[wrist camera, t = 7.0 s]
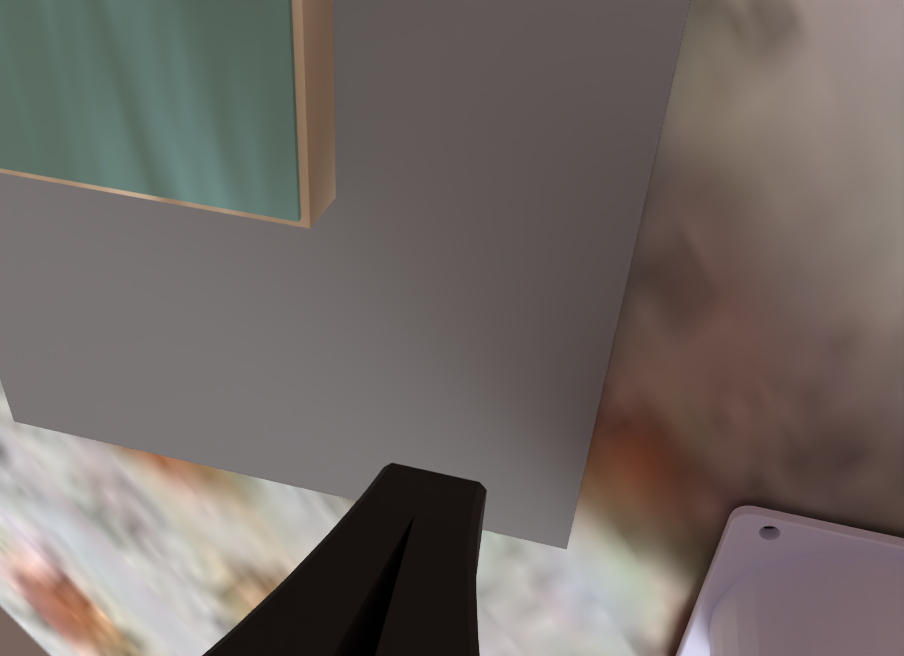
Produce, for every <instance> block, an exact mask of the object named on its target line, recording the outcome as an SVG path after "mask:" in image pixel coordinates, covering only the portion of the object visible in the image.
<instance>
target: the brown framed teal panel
mask: <svg viewBox="0 0 904 656" xmlns="http://www.w3.org/2000/svg"><path fill="white" fill-rule="evenodd" d="M0 173H5V174H10V175H16V176H21V177H27V178H33V179H38V180H44V181H49V182H55V183H60V184H66V185H71V186H77V187H82V188H88V189H93V190H99V191H105V192H110V193H116V194H121V195H127V196H132V197H138V198H143V199H149V200H154V201H160V202H166V203H171V204H177V205H182V206H188V207H193V208H199V209H204V210H210V211H215V212H221V213H226V214H232V215H238V216H243V217H249V218H254V219H260V220H265V221H271V222H276V223H282V224H287V225H293V226H299V227H304V228H311V227H312V226H313V225H314V223H315V222H316V221H317V220H318V218H319V217H320V216H321V215H322V214H323V212H324V211H325V210H326V209H327V208H328V206H329V205H330V204H331V203H332V201H333V200H334V199H335V198H336V181H335V114H334V47H333V0H0Z"/></svg>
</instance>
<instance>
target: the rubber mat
mask: <svg viewBox="0 0 904 656" xmlns="http://www.w3.org/2000/svg"><path fill="white" fill-rule="evenodd" d="M690 1H691V0H333V47H334V114H335V181H336V198H335V199H334V200H333V201H332V203H331V204H330V205H329V206H328V208H327V209H326V210H325V211H324V212H323V214H322V215H321V216H320V217H319V218H318V220H317V221H316V222H315V223H314V225H313V226H312V227H311V228H304V227H299V226H293V225H287V224H282V223H276V222H271V221H265V220H260V219H254V218H249V217H243V216H238V215H232V214H226V213H221V212H215V211H210V210H204V209H199V208H193V207H188V206H182V205H177V204H171V203H166V202H160V201H154V200H149V199H143V198H138V197H132V196H127V195H121V194H116V193H110V192H105V191H99V190H93V189H88V188H82V187H77V186H71V185H66V184H60V183H55V182H49V181H44V180H38V179H33V178H27V177H21V176H16V175H10V174H5V173H0V379H1V382H2V385H3V388H4V391H5V395H6V398H7V401H8V404H9V407H10V410H11V413H12V416H13V420H14V421H15V422H19V423H24V424H28V425H32V426H36V427H41V428H45V429H49V430H54V431H58V432H62V433H67V434H71V435H75V436H80V437H84V438H88V439H93V440H97V441H101V442H106V443H110V444H114V445H119V446H123V447H127V448H131V449H136V450H140V451H144V452H149V453H153V454H157V455H162V456H166V457H170V458H175V459H179V460H183V461H188V462H192V463H196V464H201V465H205V466H209V467H214V468H218V469H222V470H226V471H231V472H235V473H239V474H244V475H248V476H252V477H257V478H261V479H265V480H270V481H274V482H278V483H283V484H287V485H291V486H296V487H300V488H304V489H309V490H313V491H317V492H322V493H326V494H330V495H334V496H339V497H343V498H347V499H352V500H356V501H357V500H358V499H359V498H360V497H361V496H362V494H363V493H364V492H365V491H366V489H367V488H368V487H369V486H370V484H371V483H372V482H373V481H374V479H375V478H376V477H377V475H378V474H379V473H380V471H381V470H382V469H383V467H385V466H386V465H388V464H390V463H396V464H401V465H405V466H410V467H414V468H419V469H423V470H428V471H432V472H437V473H441V474H446V475H451V476H455V477H460V478H464V479H469V480H473V481H478V482H480V483H481V484H482V485H483V486H484V487H485V489H486V490H487V494H486V502H485V510H484V518H483V526H482V530H486V531H490V532H494V533H499V534H503V535H507V536H512V537H516V538H520V539H524V540H529V541H533V542H537V543H542V544H546V545H550V546H555V547H559V548H563V549H567V545H568V541H569V536H570V532H571V528H572V523H573V519H574V514H575V510H576V505H577V501H578V497H579V492H580V488H581V483H582V479H583V474H584V470H585V466H586V461H587V457H588V452H589V448H590V443H591V439H592V435H593V430H594V426H595V421H596V417H597V412H598V408H599V404H600V399H601V395H602V390H603V386H604V381H605V377H606V373H607V368H608V364H609V359H610V355H611V350H612V346H613V342H614V337H615V333H616V328H617V324H618V319H619V315H620V311H621V306H622V302H623V297H624V293H625V288H626V284H627V280H628V275H629V271H630V266H631V262H632V257H633V253H634V249H635V244H636V240H637V235H638V231H639V226H640V222H641V218H642V213H643V209H644V204H645V200H646V195H647V191H648V187H649V182H650V178H651V173H652V169H653V164H654V160H655V156H656V151H657V147H658V142H659V138H660V133H661V129H662V125H663V120H664V116H665V111H666V107H667V103H668V98H669V94H670V89H671V85H672V80H673V76H674V72H675V67H676V63H677V58H678V54H679V49H680V45H681V41H682V36H683V32H684V27H685V23H686V18H687V14H688V10H689V5H690Z"/></svg>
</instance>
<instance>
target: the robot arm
mask: <svg viewBox="0 0 904 656" xmlns="http://www.w3.org/2000/svg"><path fill="white" fill-rule="evenodd" d="M486 494H487V490H486V489H485V487H484V486H483V485H482V484H481V483H480V482H478V481H473V480H469V479H464V478H460V477H455V476H451V475H446V474H441V473H437V472H432V471H428V470H423V469H419V468H414V467H410V466H405V465H401V464H396V463H390V464H388V465H386V466H385V467H383V469H382V470H381V471H380V473H379V474H378V475H377V477H376V478H375V479H374V481H373V482H372V483H371V484H370V486H369V487H368V488H367V489H366V491H365V492H364V493H363V494H362V496H361V497H360V498H359V499H358V500H357V502H356V503H355V504H354V505H353V506H352V507H351V509H350V510H349V511H348V512H347V513H346V515H345V516H344V517H343V518H342V519H341V520H340V521H339V522H338V524H337V525H336V526H335V527H334V528H333V529H332V530H331V531H330V533H329V534H328V535H327V536H326V537H325V538H324V539H323V540H322V541H321V542H320V543H319V544H318V545H317V547H316V548H315V549H314V550H313V551H312V552H311V553H310V554H309V555H308V556H307V557H306V558H305V559H304V560H303V561H302V562H301V563H300V564H299V565H298V566H297V568H296V569H295V570H294V571H293V572H292V573H291V574H290V575H289V576H288V577H287V578H286V579H285V580H284V581H283V582H282V583H281V584H280V585H279V586H278V587H277V588H276V589H275V590H274V591H273V592H271V593H270V594H269V595H268V596H267V597H266V598H265V599H264V600H263V601H262V602H261V603H260V604H259V605H258V606H257V607H256V608H255V609H253V610H252V611H251V612H250V613H249V614H248V615H247V616H246V617H245V618H244V619H243V620H242V621H241V622H240V623H239V624H238V625H237V626H235V627H234V628H233V629H232V630H231V631H230V632H229V633H228V634H227V635H225V636H224V637H223V638H222V639H221V640H220V641H219V642H217V643H216V644H215V645H214V646H213V647H212V648H211V649H209V650H208V651H207V652H206V653H205V654H203V655H202V656H480V654H479V641H478V622H477V598H476V574H477V566H478V558H479V550H480V542H481V534H482V526H483V518H484V510H485V502H486ZM765 526H773V527H775V528H772V529H765V528H763V527H765ZM676 656H904V538H900V537H895V536H891V535H886V534H881V533H877V532H872V531H867V530H863V529H858V528H854V527H849V526H844V525H840V524H835V523H830V522H826V521H821V520H816V519H812V518H807V517H803V516H798V515H793V514H789V513H784V512H779V511H775V510H770V509H766V508H761V507H756V506H742V507H738V508H737V509H735V510H733V512H732V513H731V514H730V516H729V519H728V521H727V524H726V527H725V529H724V532H723V534H722V537H721V540H720V542H719V545H718V547H717V550H716V553H715V555H714V558H713V560H712V563H711V565H710V568H709V571H708V573H707V576H706V578H705V581H704V584H703V586H702V589H701V591H700V594H699V597H698V599H697V602H696V604H695V607H694V610H693V612H692V615H691V617H690V620H689V622H688V625H687V628H686V630H685V633H684V635H683V638H682V641H681V643H680V646H679V648H678V651H677V654H676Z"/></svg>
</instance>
